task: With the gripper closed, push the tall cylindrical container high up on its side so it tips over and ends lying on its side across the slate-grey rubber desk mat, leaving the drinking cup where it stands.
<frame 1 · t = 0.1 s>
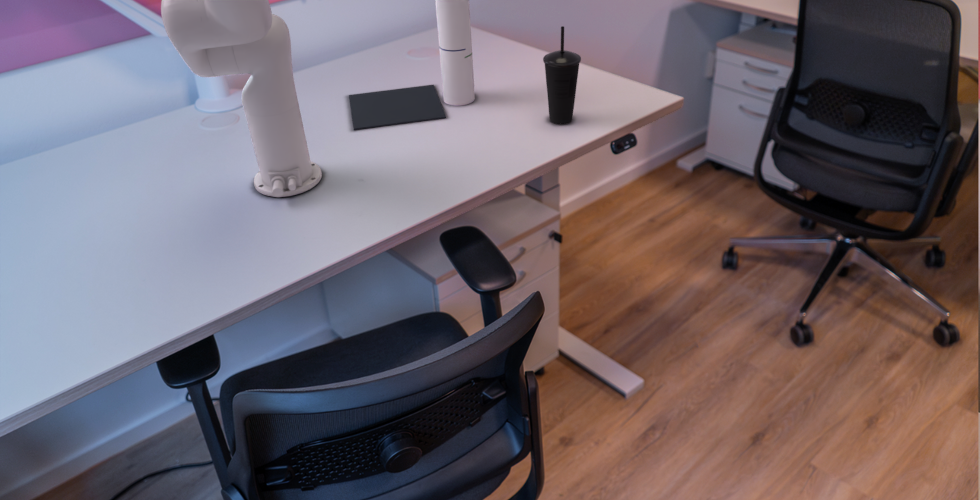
cylindrical container: (459, 99, 166), on the table
drinking cup: (560, 120, 155), on the table
desk mat: (395, 107, 164), on the table
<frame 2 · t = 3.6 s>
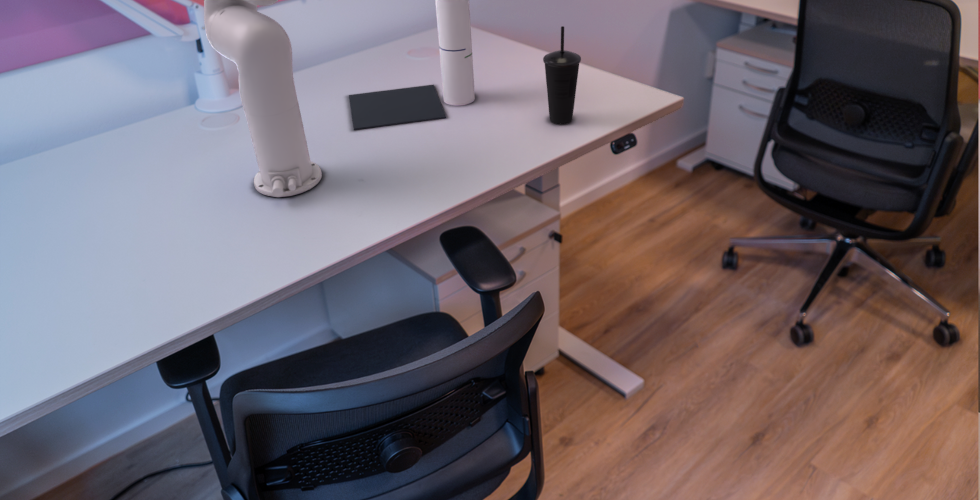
nothing on the table moved.
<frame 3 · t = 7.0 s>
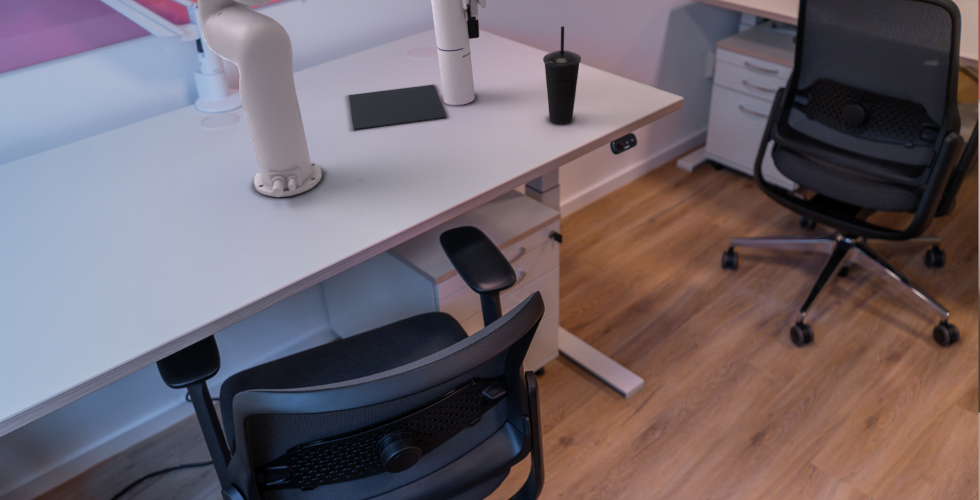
hand: (471, 37, 158), 14 cm above the table, tool pointing down, fingers closed
cylindrical container: (459, 99, 166), on the table, touching gripper
everything else where it was.
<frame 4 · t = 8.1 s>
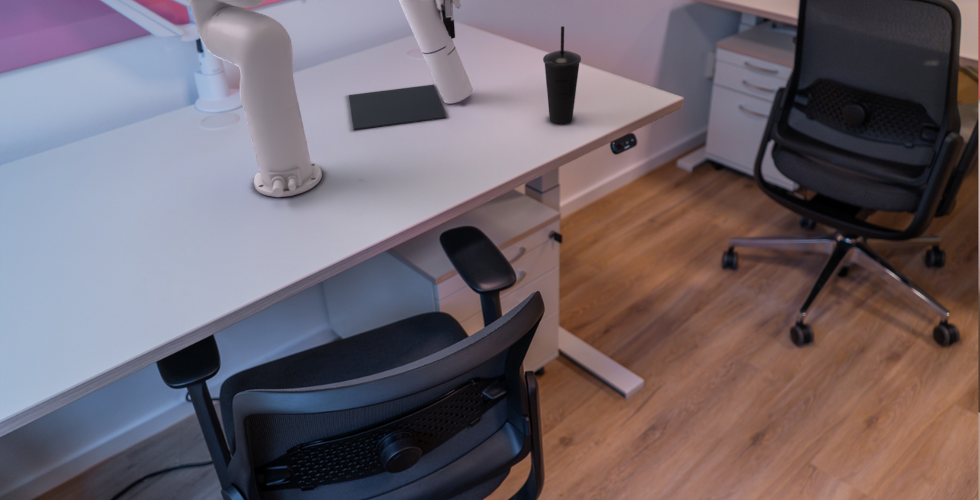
hand: (447, 37, 157), 14 cm above the table, tool pointing down, fingers closed
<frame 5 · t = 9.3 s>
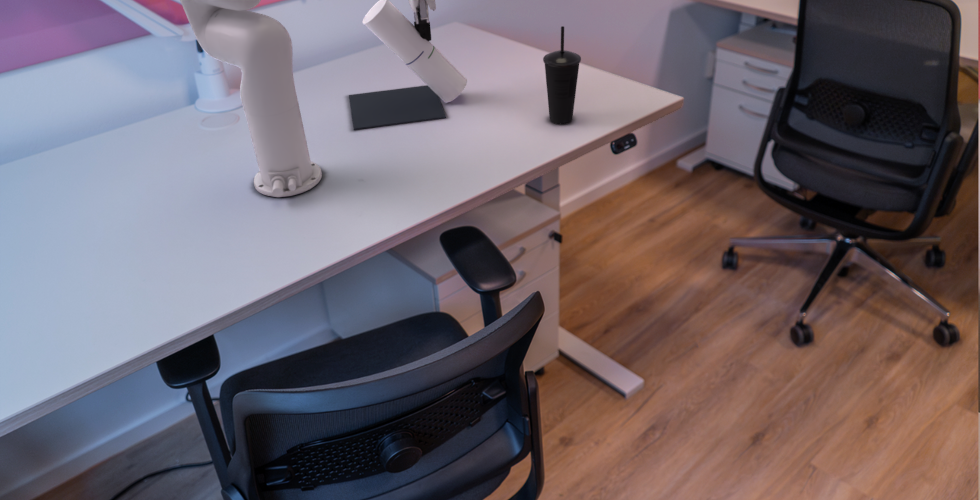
hand: (423, 40, 157), 14 cm above the table, tool pointing down, fingers closed
cylindrical container: (455, 90, 165), point 2 cm above the table, touching gripper
everything else where it was.
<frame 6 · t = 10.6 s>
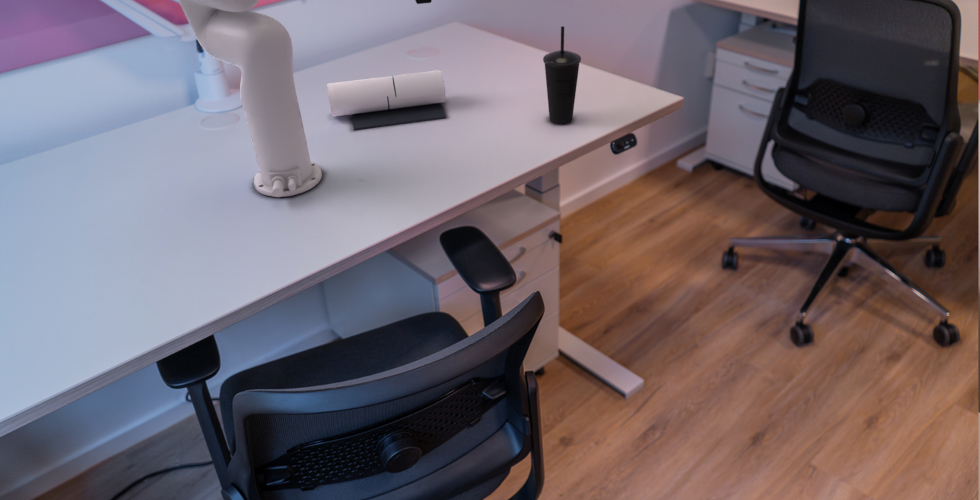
hand: (423, 2, 152), 23 cm above the table, tool pointing down, fingers closed
cylindrical container: (443, 86, 162), point 4 cm above the table, touching desk mat
everything else where it was.
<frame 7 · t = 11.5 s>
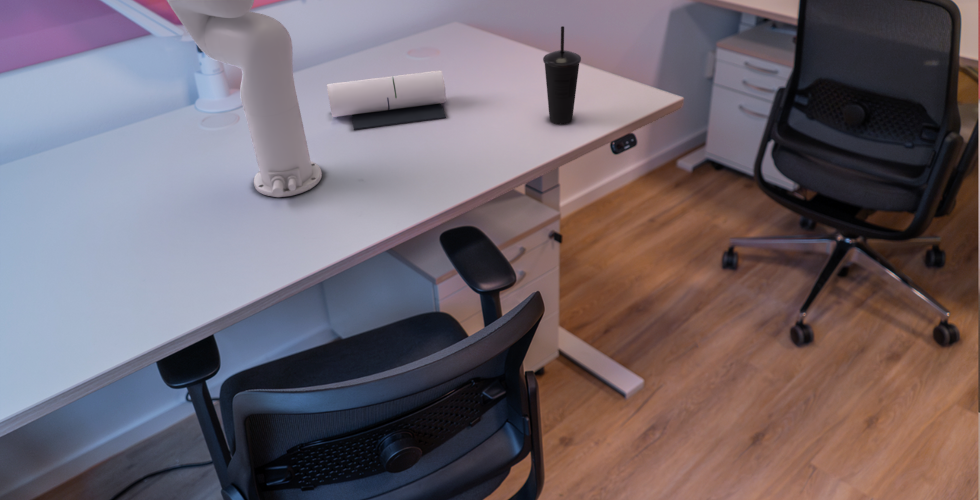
nothing on the table moved.
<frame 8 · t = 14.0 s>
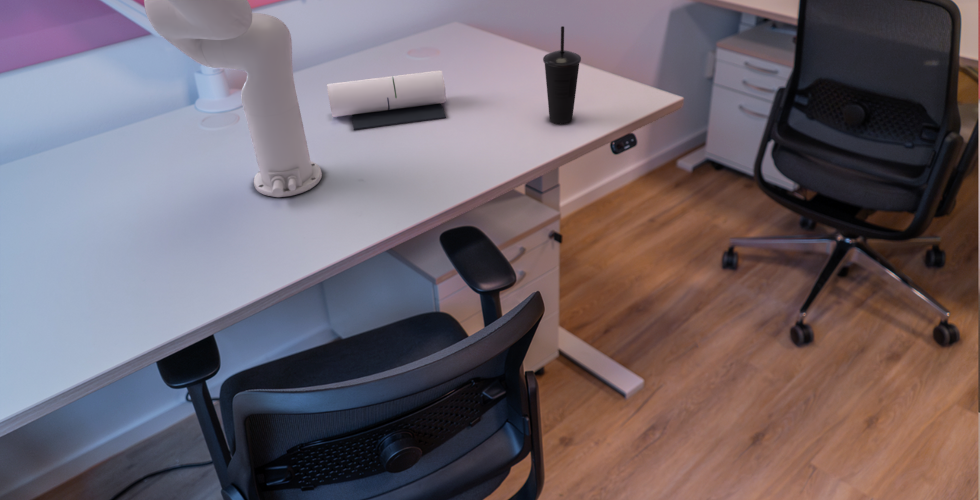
nothing on the table moved.
at the end: cylindrical container tilted 90°; cylindrical container touching desk mat; drinking cup moved 0.2 cm from its start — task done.
